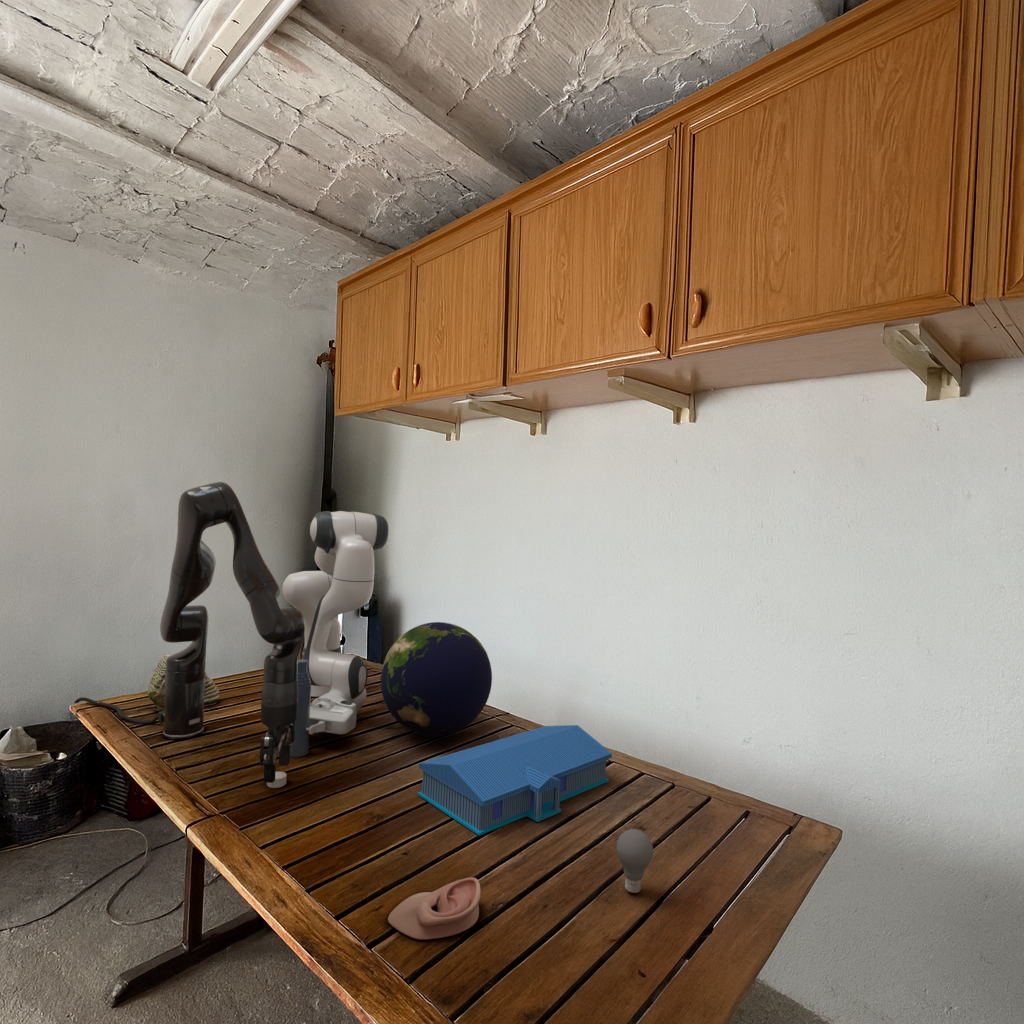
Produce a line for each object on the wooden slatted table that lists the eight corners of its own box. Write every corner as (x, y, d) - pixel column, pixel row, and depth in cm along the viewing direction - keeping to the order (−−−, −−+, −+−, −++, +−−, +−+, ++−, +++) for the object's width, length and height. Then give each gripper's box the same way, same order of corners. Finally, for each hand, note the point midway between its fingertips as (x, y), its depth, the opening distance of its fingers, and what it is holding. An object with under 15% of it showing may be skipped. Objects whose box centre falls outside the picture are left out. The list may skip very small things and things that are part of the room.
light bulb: (610, 879, 108) (613, 822, 108) (644, 879, 109) (647, 822, 109) (619, 902, 102) (622, 840, 102) (655, 901, 103) (658, 840, 103)
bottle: (303, 757, 153) (307, 663, 153) (284, 756, 153) (287, 662, 153) (311, 749, 158) (315, 658, 158) (292, 748, 158) (296, 657, 158)
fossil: (144, 707, 182) (145, 655, 182) (212, 696, 194) (213, 647, 194) (151, 716, 175) (153, 662, 175) (221, 703, 188) (223, 653, 188)
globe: (355, 741, 164) (360, 626, 164) (415, 708, 192) (419, 609, 191) (458, 763, 153) (464, 640, 152) (506, 725, 181) (511, 620, 180)
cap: (285, 778, 141) (285, 770, 141) (287, 786, 138) (287, 777, 138) (266, 781, 140) (266, 772, 140) (267, 789, 136) (267, 780, 136)
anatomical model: (380, 905, 93) (408, 862, 104) (379, 932, 93) (407, 886, 104) (467, 921, 90) (487, 875, 101) (466, 949, 90) (486, 900, 101)
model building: (489, 842, 118) (492, 789, 118) (416, 794, 136) (418, 748, 136) (620, 786, 145) (622, 742, 145) (544, 751, 163) (546, 712, 163)
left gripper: (285, 711, 131) (282, 788, 132) (307, 690, 146) (304, 760, 146) (248, 709, 131) (246, 787, 132) (274, 689, 146) (272, 759, 146)
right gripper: (292, 695, 171) (260, 711, 157) (361, 704, 166) (334, 721, 152) (291, 718, 171) (259, 736, 157) (360, 728, 166) (333, 748, 152)
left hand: (276, 773), depth 139 cm, fingers open, 8 cm apart
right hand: (297, 729), depth 155 cm, fingers closed on bottle, 5 cm apart
